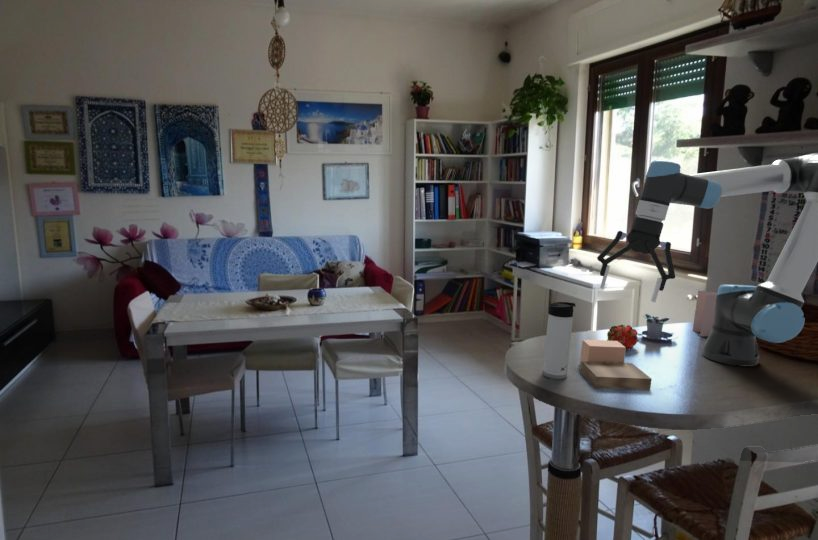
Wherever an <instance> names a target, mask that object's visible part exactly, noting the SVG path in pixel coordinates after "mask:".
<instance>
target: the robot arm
mask: <svg viewBox="0 0 818 540" xmlns="http://www.w3.org/2000/svg"><path fill="white" fill-rule="evenodd" d="M642 186H643V187H642V191H641V194H640V197H639V200H638V203H637V206H636V211H635V215H637V216H635V217H634V218H633V220H632V223H631V227H630V231H629V233H626V232H623V231H622V230H618V231H617V232H616V235H615V237H614V238H613V240H611V241H610V243H608V245H607V246H606V247H605V248H604V249H603V250H602V251H601V252H600V254H598V255H597V258H596V259H597V261H598V262H600V263H601V268H600V271H599V275H600V276H601V277H602V280H601V283H600V287H599V288H600V289H602V290H604V288H605V284H606V282H607V278H608V274H609V271H610V268H611V266H610V265H609V264H610V263H611V262H614V261H615V260H616V259H617V258H619V257H621V256H622V255H624V254H625V253H626V252H628V251H630V250H631V251H633V252H635V253H641V254H644V255H649V256H650V257H651V259H652V261H653V263H654V265H655V268H656V269H657V271H658V273H659V275H660V277H657V280H656V281H655V286H654V289H653V292H652V295H651V299H650V301H651V302H653V303H656V300H657V298H658V296H659V295H658V294H659V291H660V292H663V291H664V289H665V286H666V283H667V281H668V280H670V279H671V280H673V279H674V280H675V278H676V272H675V267H674V263H673V259H672V253H671V247H672V244H671V242H669V241H660V240H661V239H660V238H661V234H662V231H663V228H664V223H663V221H665V220H666V217H667V213H668V210H669V208H670V204H675V205H683V206H692V207H697V208H700V209H707V210H708V209H709V210H710V209H712V208H714V207H716V205H717V204H718V202H720V199H721V197H722V198H723V197H724V198H725V197H730V196H731V197H733V196H741V195H748V194H755V193H757V194H758V193H765V192H766V193H767V192H774V193H776V194H784V193H787V194H788V193H796V194H797V193H798V194H803V196H804V198H805V200H806V202H805V204H804V207H803V209H802V210H801V212H800V215H799V216H798V219H797V220H796V223H795V224H794V226H793V228H792V230H791V232H790V234H789V236H788V238H787V240H786V243H784V246H783V248H782V250H781V251H780V254H779V256H778V258H777V260H776V262H775V264H774V266H773V267H772V270H771V271H770V274H769V275H768V278H767V280H765V282H761V283H759V284H757V285H746V284H730V283H729V284H720V285H719V287H718V289H717V292H716V293H717V295H716V297H717V298H716V305H715V312H714V319H713V326H712V331H711V333H710V335H709V336H707V338H706V340H705V342H704V344H703V346H702V352H701V355H702V357H705V358H707V359H709V360H711V361H715V362H718V363H721V364H725V365H731V366H736V365H755V364H757V363H758V364H759V362H760V361H759V360H760V354H759V350H758V349H759V347H758V343H757V339H756V338H758V339H760V340H762V341H767V342H770V343H775V344H779V343H784V342H787V341H790V340H793V339H794V338H795V337H797V336H798V335H799V334H800V333H801V331H802V330H803V328H804V325H805V320H806V318H805V317H804V315H805V314H804V312H803V310H802V307H803V306H804V304H805V300H804V298H803V295H802V293H803V292H804V289H805V287H806V285H807V283H808V281H809V279H810V277H811V276H812V273H813V271H814V270H815V267H816V266H817V263H818V152H813V153H807V154H804V155H803V154H802V155H799V156H794V157H790V158H784V159H777V160H774V161H773V162H772V163H771V164H766V165H765V164H763V165H757V166H748V167H747V166H746V167H740V168H732V169H723V170H717V171H709V172H701V173H692V174H685V173H683V172H681V165H680V164H679V163H676V162H673V161H668V160H662V159H661V160H660V159H655V160H653V161H651V163H650V165H649V167H648V169H647V172H646V175H645V179H644V183H643V185H642ZM625 238H626V239H627V244H626V245H624V246H623V247H622V248H620V249H618V250H617V251H616V252H614V253H613V254H611V255H610V256H609V257H607V258H605V257H606V256H607V255H608V254H609V253H610V252H611V251H612V250H613V249H614V247H615V246H616V245H618V243H619V242H620V240H624V239H625ZM659 246H660V247H661V249H662V251H663V253H664V260H665V264H666V269H667V273H666V271H665V269H664V267H663V265H662V262H661V261H660V259H659V257H658V255H657V253H656V251H655V249H657V248H658V247H659Z"/></svg>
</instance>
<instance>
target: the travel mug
mask: <svg viewBox="0 0 818 540" xmlns="http://www.w3.org/2000/svg"><path fill="white" fill-rule="evenodd" d="M575 307H576V303H575V302H568V301H556V302H551V303H550V304H549V306H548V313H547V315H548V316H547V326H546V334H545V345H544V354H543V355H544V357H543V366H542V367H543V368H542V375H543V376H545V378H548V379H552V380H564V379H566V378H567V377H568V369H569V368H568V366H569V357H570V351H571V350H570V349H571V340H572V339H571V338H572V330H573V319H574V308H575Z"/></svg>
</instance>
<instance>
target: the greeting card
mask: <svg viewBox="0 0 818 540" xmlns="http://www.w3.org/2000/svg"><path fill="white" fill-rule="evenodd" d="M716 295H717V292H714V291H707V290H706V291H705V290H698V291H697V296H696V297H697V298H696V303H695V312H694V319H693V325H692V326H693V327H692V332H698V333H700V335H699V336H700V337H709V335H710V333H711V331H712V326H713V319H714V312H715V305H716V298H717V297H716Z"/></svg>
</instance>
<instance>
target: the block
mask: <svg viewBox="0 0 818 540" xmlns="http://www.w3.org/2000/svg"><path fill="white" fill-rule="evenodd" d="M626 351H627V350H626V347H625V346H623V345H622V344H621V343H619V342H618V341H607V339H606V340H604V339H603V340H602V339H601V340H600V339H582V340H581V350H580V358H579V364H580V365H581V361H598V362H623V363H625V358H626Z"/></svg>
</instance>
